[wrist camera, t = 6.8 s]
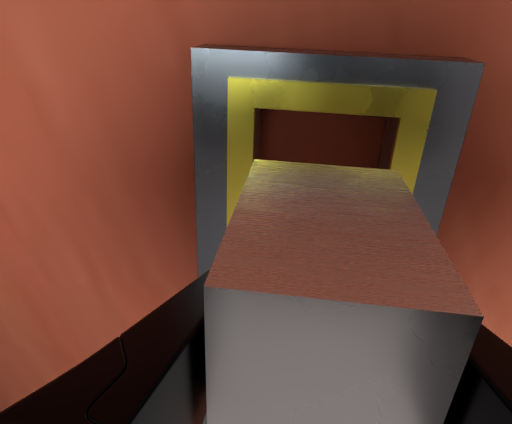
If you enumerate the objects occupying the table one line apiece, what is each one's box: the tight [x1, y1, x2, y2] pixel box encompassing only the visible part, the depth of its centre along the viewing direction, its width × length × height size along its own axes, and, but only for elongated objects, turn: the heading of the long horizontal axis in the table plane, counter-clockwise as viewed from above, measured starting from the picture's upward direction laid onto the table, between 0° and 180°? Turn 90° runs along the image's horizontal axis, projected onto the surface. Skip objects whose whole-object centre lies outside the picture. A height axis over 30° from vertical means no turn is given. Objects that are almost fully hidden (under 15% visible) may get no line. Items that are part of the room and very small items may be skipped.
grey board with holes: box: [191, 44, 485, 424], centre depth 19 cm, size 10×21×2 cm, turn 177°
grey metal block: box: [204, 159, 484, 424], centre depth 9 cm, size 4×4×6 cm
